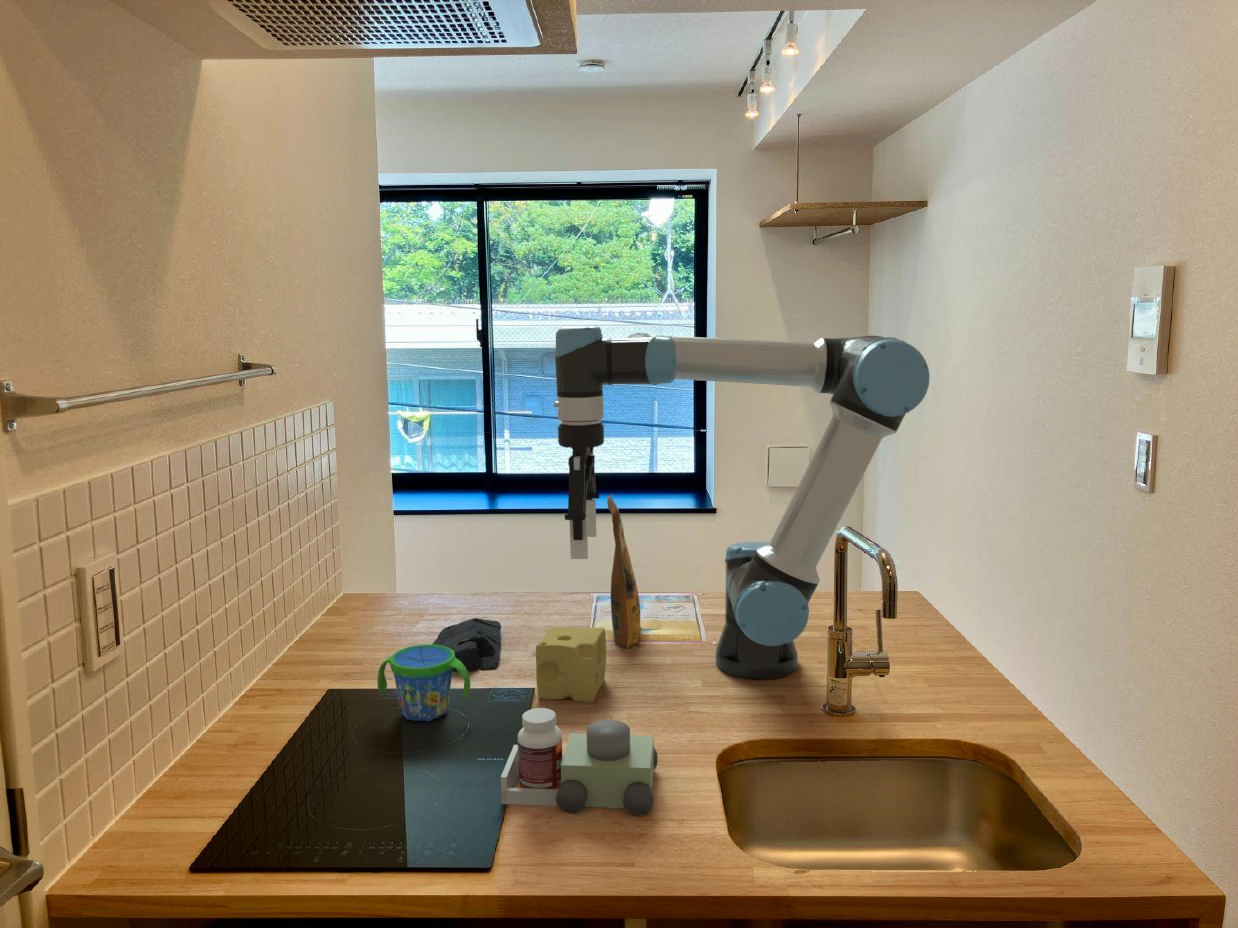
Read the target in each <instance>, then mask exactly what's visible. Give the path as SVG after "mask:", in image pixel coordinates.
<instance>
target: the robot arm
mask: <svg viewBox="0 0 1238 928" xmlns="http://www.w3.org/2000/svg"><path fill="white" fill-rule="evenodd" d="M554 354H555V356H554V359H555V379H556V380H555V381H556V396H557V401H553V407H554V408H558V409H557V420H559V421H561V422H560V423H558V425H557V440H558V441H557V442H558V444H559V446H560V447H563V448H571V449H572V452H571V453H572V454H571V455H570V456H569V458H568V461H567V462H568V471H569V473H568V499H567V501H568V504H567V507H568V508H567V514H564V521H569V543H570V545H569V546H570V560H588V558H589V542H588V538H597V511H596V510H597V508H596V507H597V506H596V504H597V503H596V499H600V492H599V491H598V492H597V490H598V489H597V484H596V483H597V482H596V475H595V474H596V473H595V460H596V458H595V454H594V448H597V447H600V446H602V445H603V444H604V443H605V431H604V430H605V428H604V427H605V426H604V423H603V422H602V421H601V420H603V419H604V418H605V415H604V414H605V411H604V409H605V408H604V390H603V387H604V385H608V386H609V385H611V386H612V385H653V386H657V385H660V384H661V385H663V384H671V383H673V382H674V381H675V380H686V381H687V380H689V381H701V382H702V381H703V382H704V381H705V382H721V383H723V382H724V383H736V384H737V383H739V384H755V385H756V384H757V385H771V386H772V385H774V386H775V385H776V386H787V387H788V386H790V387H793V386H794V387H809V388H811V389H812V390H813V392H815V393H816V394H829V395H832V397H831V399H830V401H829V405H830V407H831V410H832V411H831V412H832V418H831V420H830V422H829V424H828V426H827V428H826V429H825V432H824V434H823V435H822V438H821V439H820V442H819V444H818V445H817V447H816V450H814V451H815V452H814V454H813V455H812V458H811V460H810V462H809V464H808V466H807V468H806V469H805V472H804V474H803V476H802V478H801V480H800V482H799V484H798V486H797V487H796V489H795V491H794V494H793V496H792V497H791V500H790V501H789V503H788V506H787V508H786V509H785V512H784V514H783V516H782V517H781V520H780V522H779V523H778V526H777V528H776V530H775V532H774V534H773V536H772V538H771V540H770V541H744V542H743V541H742V542H735V543H733V544H730V545H728V547H727V548H726V552H725V558H724V563H725V607H724V608H725V609H724V610H725V616H724V617H725V620H724V621H725V622H724V625H723V629H722V632H721V634H720V637H719V640H718V643H717V645H716V650H715V664H716V666H717V667H718V669H720V670H721V671H723V672H724V673H726V674H729V675H732V676H734V677H739V678H744V679H751V680H772V679H778V678H779V679H780V678H783V677H787V676H788V675H790V674H792V673H794V672H795V671H796V670H797V668H798V666H799V665H798V663H799V660H798V659H799V657H798V651H797V648H796V644H795V642H794V640H796V639H797V638H798V637H799V636H801V634H802V633H803V632H804V631H805V629H806V627H807V624H808V622H809V616H810V606H809V603H810V600H811V599H812V597H813V595H814V593H815V591H816V589H817V587H818V586H819V583H820V581H821V580H820V577H819V574H818V571H817V566H818V565H819V562H820V560H821V559H822V556H823V555H824V553H825V551H826V548H827V547H828V545H829V543H830V542H831V539H832V538H833V535H834V533H835V531H836V529H837V528H838V526H839V523H840V521H841V520H842V517H844V516H843V515H844V514H845V512H846V510H847V507H848V506H849V504H850V503H851V500H852V499H853V496H854V494H855V492H856V490H857V488H858V487H859V484H860V483H861V480H862V478H863V477H864V475H865V473H866V471H867V468H868V467H869V465H870V463H871V461H872V460H873V458H874V456H875V453H876V451H877V449H878V447H879V445H880V443H881V442H882V439H884V438H885V437H889V436H892V435H895V434H896V433H897V431H898V429H899V428H900V425H901V424H902V421H903V420H904V418H905V416H906V414H908V413H910V412H911V411H913V410H914V409H916V407H918V406H919V405H920V404H921V403H922V401H923V400H924V398H925V397H926V395H927V394H928V393H927V392H928V389H929V386H930V371H929V370H930V369H929V367H928V364H927V363H928V362H927V361H926V359H925V357H924V355H923V354H922V352H920V350H918V349H917V348H916V347H914V345H912V344H910V343H907V341H905V340H901V339H898V338H896V337H891V336H890V337H888V336H887V337H884V336H880V335H864V336H854V337H843V338H841V337H839V338H836V337H833V338H831V337H829V338H827V337H820V338H819V339H817V340H816V341H815V342H814V343H813V342H812V343H811V342H795V341H779V340H777V341H776V340H774V341H773V340H760V339H759V340H756V339H742V338H741V339H739V338H721V337H720V338H719V337H716V338H715V337H703V336H702V337H700V336H698V337H697V336H684V335H683V336H682V335H681V336H680V335H679V336H678V335H662V334H661V335H659V334H649V333H645V332H635V333H633V334H630V335H629V336H627V337H622V338H621V337H619V338H611V337H610V338H608V337H603V334H602V328H601V327H599V326H595V325H589V326H588V325H587V326H586V325H584V326H583V325H578V326H573V325H571V326H562V327H561V328H559V329H558V330H557V331H556V333H555V353H554Z"/></svg>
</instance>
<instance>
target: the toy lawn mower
mask: <svg viewBox="0 0 1238 928" xmlns="http://www.w3.org/2000/svg"><path fill="white" fill-rule="evenodd" d="M654 738H655V737H654V736H653V735H631V728H630V726H629V725H628V724H626V723H625V722H622V721H619V720H613V719H605V720H604V719H603V720H599V721H596V722H593V723H591V724H590V725H588V727H587V728H586V733H570V734H569V737H568V740H567V744H566V747H565V750H564V754H563V755H562V763H561V785H560V786H559V789H531V788H520V787H515V786H516V784H517V780H518V779H519V761H518V744H513V746H512V749H511V751H510V754H509V756H508V758H507V761H506V764H505V766H504V768H503V771H502V773H501V775H500V794H501V805H514V806H515V805H516V806H518V805H520V806H542V807H544V806H545V807H546V806H547V807H558V808H559V809H560V810H561V811H562V812H565V813H566V814H576V813H579V812H581V811H582V810H583V809H584V808H602V807H603V808H604V807H609V809H625V810H626V811H627V813H629V814H630V815H632V816H637V817H641V816H645V815H648V814H649V813H650V811H652V809H653V807H654V800H655V793H654V789H653V787H654V776H655V773H654V772H655V770H656V768H657V765H658V755H659V754H658V750H657V749H656V748H655V747H654V744H655V743H654Z"/></svg>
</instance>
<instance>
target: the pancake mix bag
mask: <svg viewBox="0 0 1238 928" xmlns="http://www.w3.org/2000/svg"><path fill="white" fill-rule="evenodd" d="M606 503H607V508H608V510H609V512H610V513H611V520H612V530H613V538H614V544H615V548H614V554H613V561H612V562H613V565H612V570H611V578H610V580H611V581H610V609H611V613H610V614H611V624H612V630H613V631H612V632H613V633H612V634H613V638H614V644H616V645H618V646H620V647H623V648H627V649H629V647H630V646H634V645H636V644H638V642H639V639H640V633H641V630H640V629H641V602H640V596H639V590H638V585H637V581H636V576H635V573H634V570H633V565H632V561H631V558H630V553H629V548H628V545H627V542H626V538H625V531H624V524H623V521H622V518H621V517H622V516H621V514H620V511H619V508H618V506H617V504H616V503H615V501H614V499H613V493H611V494H610V495H609V496H608V497H607V499H606Z"/></svg>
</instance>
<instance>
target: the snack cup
mask: <svg viewBox="0 0 1238 928" xmlns="http://www.w3.org/2000/svg"><path fill="white" fill-rule="evenodd" d="M387 664H389V666H390V670H391V672H392V673H393V677H394V682H395V687H396V693H397V697H398V701H399V706H400V710H401V713H402V716H403V717H405V719H406V720H407V721H415V722H420V721H425V722H431V721H432V720H435V719H438V718H440V717H442V716H443V715H446V713H447V712H448V709H449V708H448V707H449V703H450V695H451V685H452V677H453V673H454V672H453V669H454V668H456V669H457V671H458V672H457V673H458V674H459V676H460V677H461V678H462V680H463V682H464V683H463V692H462V693H463V694H462V700H466V698H468V696H469V694H470V690H471V679H470V675H469V671H467V669H466V667H465V666H464V665H463V663H462V662H461V661H460V660H458V659H457V658H455V653H454V651H453V650H452V649H450V648H448V647H445V646H441V645H432V644H417V645H411V646H408V647H404V648H402V649H398V650H397V651H395V652H393V654H391V656H389V657H387V658H386V659H385V660H384V661H382V663H381V665H380V667H379V668H378V671H377V681H376V683H377V688H378V689H377V690H378V691H379V692H380V693H384V692H385V691H387V688H388V682H387V677H386V674H385V670H386V667H387Z"/></svg>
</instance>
